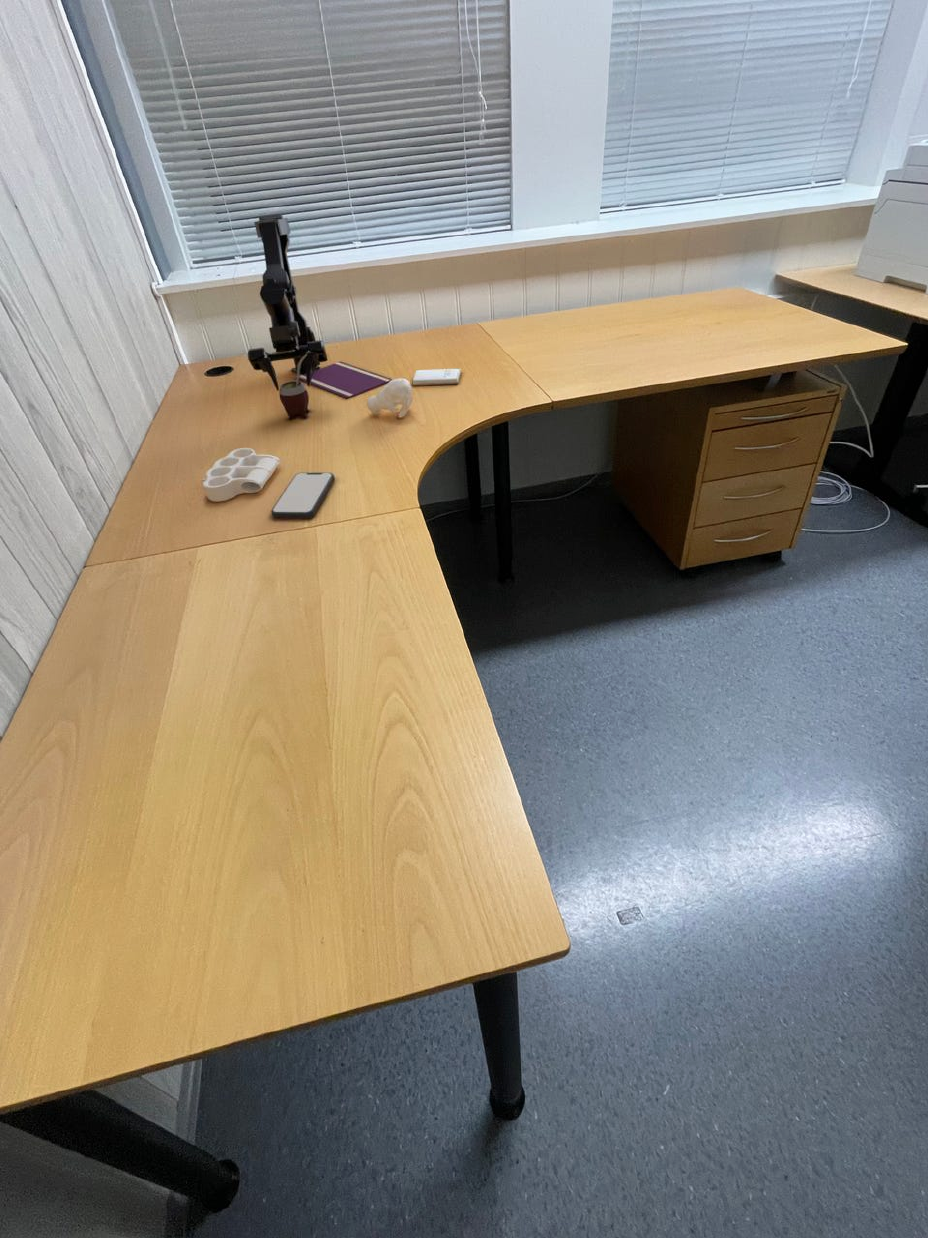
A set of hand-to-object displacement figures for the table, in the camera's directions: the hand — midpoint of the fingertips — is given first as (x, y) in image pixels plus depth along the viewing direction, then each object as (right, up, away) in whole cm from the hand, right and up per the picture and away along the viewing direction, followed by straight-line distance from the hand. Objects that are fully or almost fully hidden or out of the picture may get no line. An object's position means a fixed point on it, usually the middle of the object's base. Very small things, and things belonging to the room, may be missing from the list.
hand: (293, 387), depth 150 cm
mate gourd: (0, -5, +6) cm, 8 cm away
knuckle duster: (-6, -28, -19) cm, 34 cm away
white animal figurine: (+24, -6, +3) cm, 25 cm away
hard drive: (+35, +9, +18) cm, 41 cm away
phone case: (+10, -33, -27) cm, 44 cm away
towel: (+8, +11, +24) cm, 27 cm away
